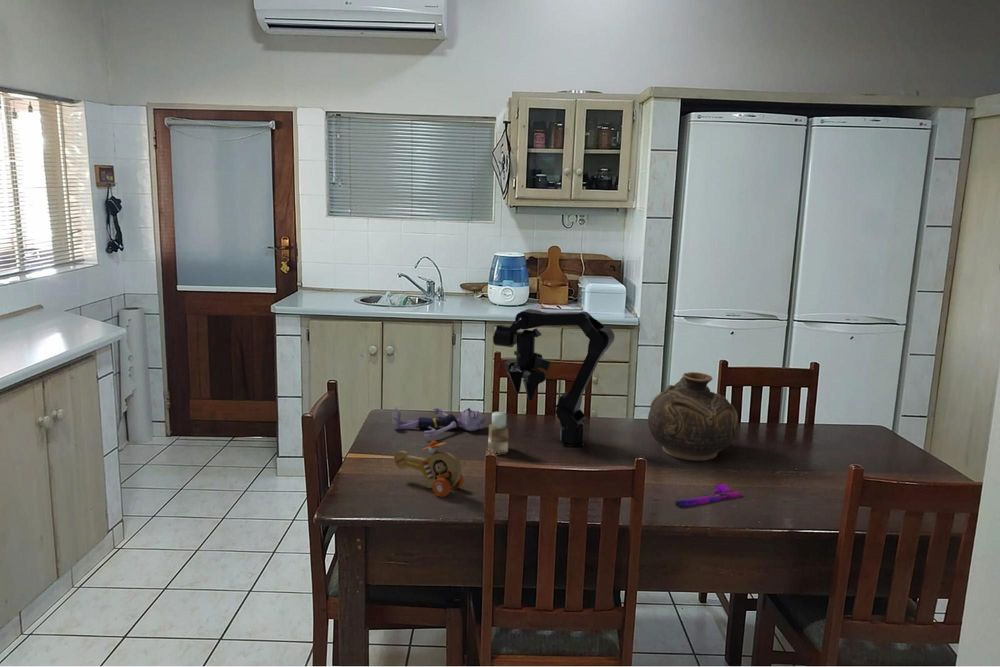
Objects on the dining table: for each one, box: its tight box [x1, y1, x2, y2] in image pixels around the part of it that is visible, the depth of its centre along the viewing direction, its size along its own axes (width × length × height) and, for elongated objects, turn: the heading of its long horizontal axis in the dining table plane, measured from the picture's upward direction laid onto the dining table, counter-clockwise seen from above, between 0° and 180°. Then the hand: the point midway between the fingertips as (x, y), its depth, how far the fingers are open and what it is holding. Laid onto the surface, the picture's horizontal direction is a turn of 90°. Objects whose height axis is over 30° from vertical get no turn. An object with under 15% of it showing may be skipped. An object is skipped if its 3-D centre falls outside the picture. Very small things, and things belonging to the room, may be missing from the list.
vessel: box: [647, 371, 740, 462], centre depth 231 cm, size 27×28×25 cm
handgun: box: [674, 483, 741, 509], centre depth 200 cm, size 21×8×2 cm, turn 115°
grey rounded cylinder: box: [491, 411, 507, 429], centre depth 228 cm, size 4×4×4 cm
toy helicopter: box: [393, 440, 464, 498], centre depth 200 cm, size 8×21×14 cm, turn 61°
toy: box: [391, 406, 487, 439], centre depth 248 cm, size 26×9×30 cm
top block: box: [488, 423, 509, 443], centre depth 228 cm, size 5×5×4 cm
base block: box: [487, 437, 509, 453], centre depth 229 cm, size 6×6×4 cm
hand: (523, 396), depth 242 cm, fingers open, 9 cm apart
